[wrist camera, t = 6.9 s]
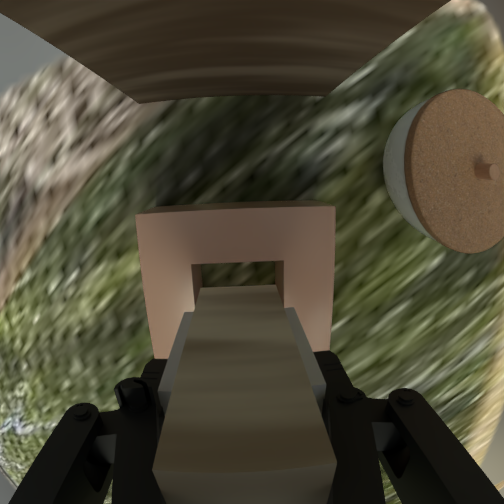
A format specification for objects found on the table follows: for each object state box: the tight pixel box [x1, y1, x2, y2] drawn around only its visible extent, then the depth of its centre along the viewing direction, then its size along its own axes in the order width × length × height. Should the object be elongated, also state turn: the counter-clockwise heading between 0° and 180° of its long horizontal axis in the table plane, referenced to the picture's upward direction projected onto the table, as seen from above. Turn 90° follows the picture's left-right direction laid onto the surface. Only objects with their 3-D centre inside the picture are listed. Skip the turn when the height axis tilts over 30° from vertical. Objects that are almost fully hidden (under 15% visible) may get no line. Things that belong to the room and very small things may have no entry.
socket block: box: [136, 200, 336, 359], centre depth 23 cm, size 12×12×5 cm
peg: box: [152, 285, 337, 504], centre depth 12 cm, size 4×4×12 cm
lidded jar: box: [383, 89, 504, 253], centre depth 19 cm, size 11×11×9 cm
